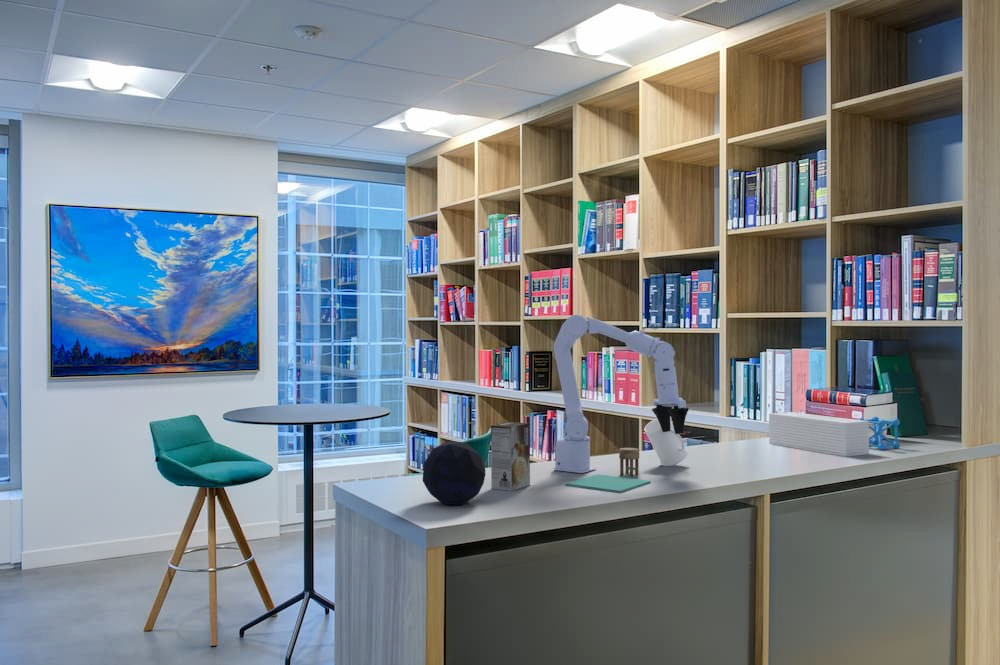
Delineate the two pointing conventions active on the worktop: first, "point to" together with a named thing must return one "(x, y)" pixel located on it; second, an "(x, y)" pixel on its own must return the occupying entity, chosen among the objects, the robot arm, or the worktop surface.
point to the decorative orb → (454, 473)
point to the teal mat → (608, 483)
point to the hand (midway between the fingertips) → (672, 432)
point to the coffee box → (510, 456)
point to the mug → (666, 443)
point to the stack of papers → (819, 433)
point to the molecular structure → (879, 433)
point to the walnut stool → (628, 455)
